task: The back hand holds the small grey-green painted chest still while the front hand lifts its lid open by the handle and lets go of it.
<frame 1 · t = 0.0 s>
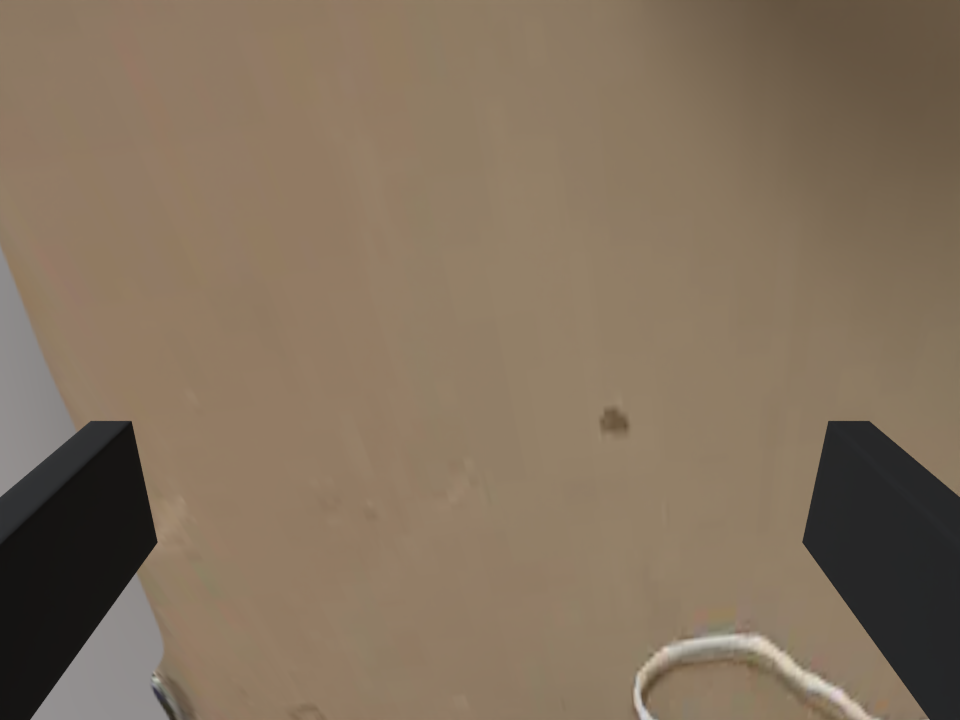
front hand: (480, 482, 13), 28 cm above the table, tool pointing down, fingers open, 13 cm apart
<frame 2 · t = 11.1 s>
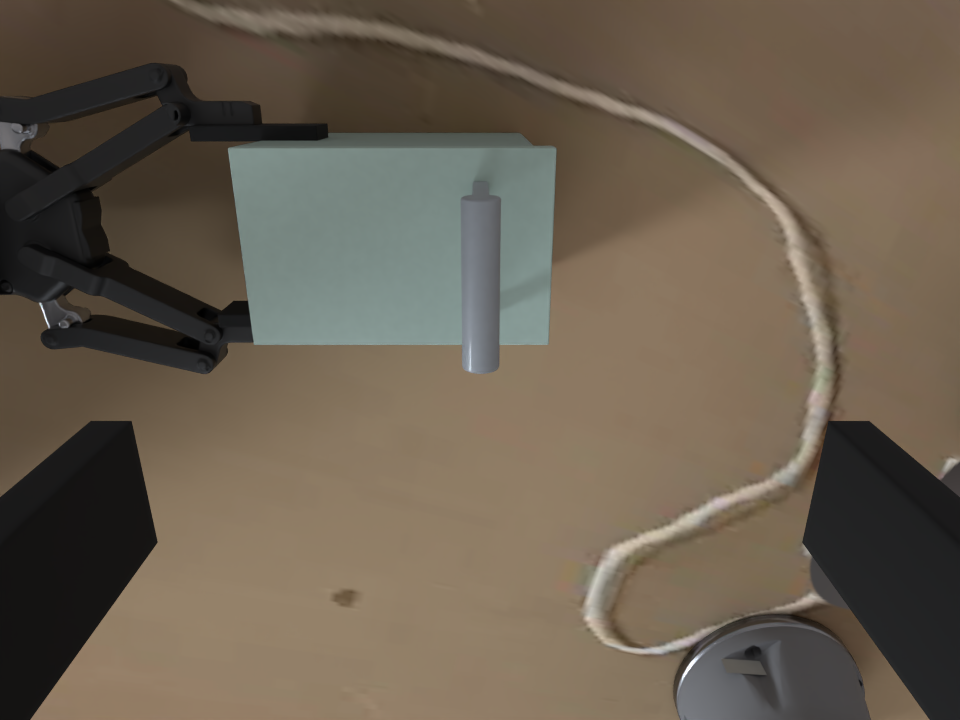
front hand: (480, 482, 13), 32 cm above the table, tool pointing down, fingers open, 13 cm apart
back hand: (330, 227, 37), fingers closed on chest, 9 cm apart
chest: (411, 209, 43), on the table, touching back hand
lid: (389, 266, 29), point 15 cm above the table, hinge at 0.0°
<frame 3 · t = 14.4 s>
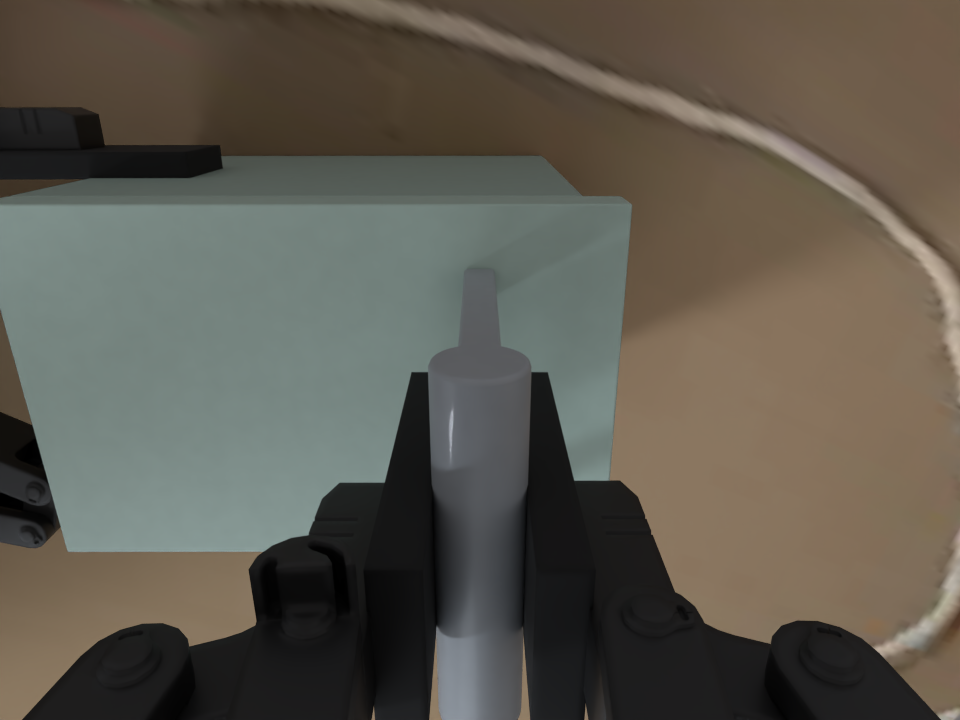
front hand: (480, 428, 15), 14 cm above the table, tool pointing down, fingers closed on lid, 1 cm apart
chest: (373, 272, 28), on the table, touching back hand
lid: (290, 452, 14), point 15 cm above the table, hinge at 0.1°, touching front hand
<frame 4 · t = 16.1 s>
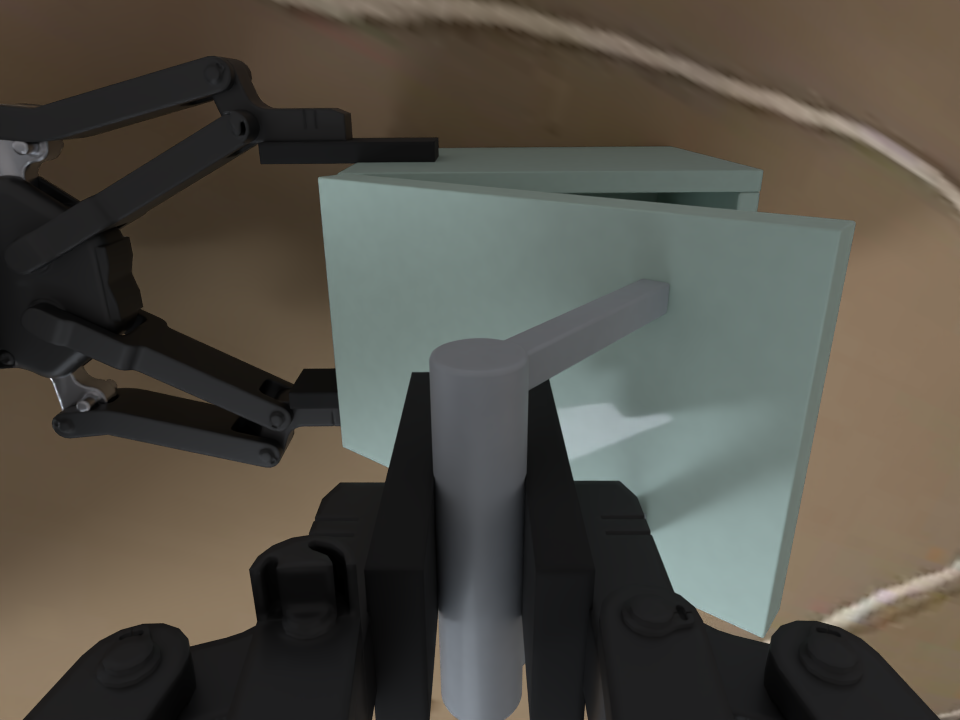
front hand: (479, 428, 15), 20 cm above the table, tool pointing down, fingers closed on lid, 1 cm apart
back hand: (440, 276, 28), fingers closed on chest, 9 cm apart
chest: (525, 245, 34), on the table, touching back hand
lid: (438, 411, 16), point 19 cm above the table, hinge at 39.0°, touching front hand
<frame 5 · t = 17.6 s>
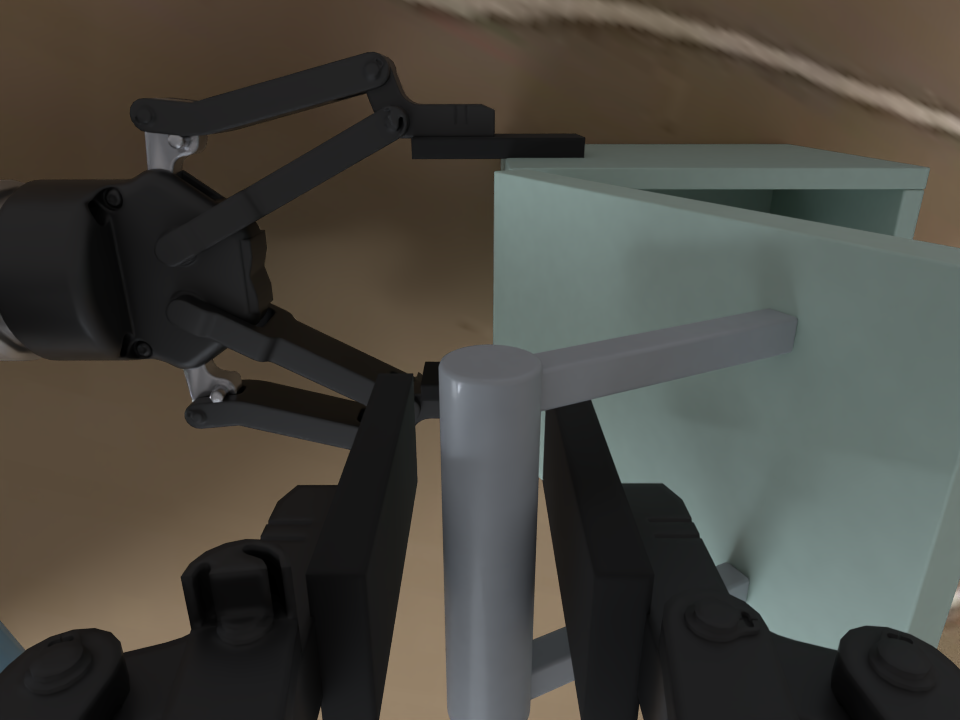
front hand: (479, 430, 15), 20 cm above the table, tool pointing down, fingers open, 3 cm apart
back hand: (573, 270, 28), fingers closed on chest, 9 cm apart
chest: (636, 241, 34), on the table, touching back hand
lid: (535, 416, 16), point 20 cm above the table, hinge at 62.8°
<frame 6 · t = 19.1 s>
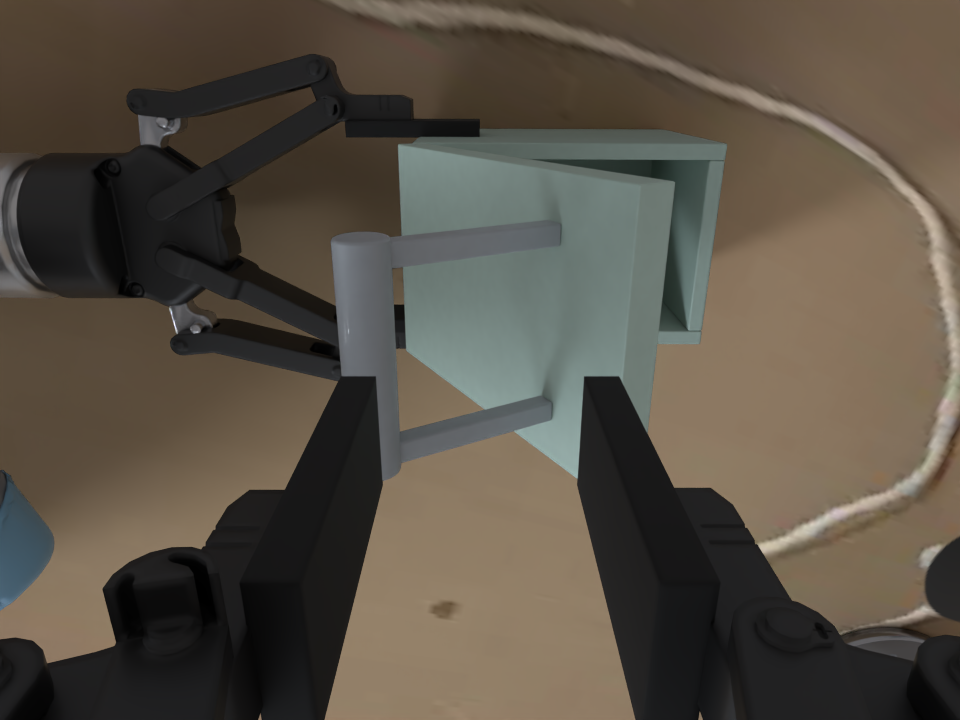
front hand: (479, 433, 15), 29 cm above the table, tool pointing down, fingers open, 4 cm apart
back hand: (479, 228, 36), fingers closed on chest, 9 cm apart
chest: (543, 209, 41), on the table, touching back hand
lid: (415, 305, 23), point 20 cm above the table, hinge at 59.5°
when the back hand's fingers open (6 cm above the table, at t = 21.6 s): chest stays where it is, on the table.
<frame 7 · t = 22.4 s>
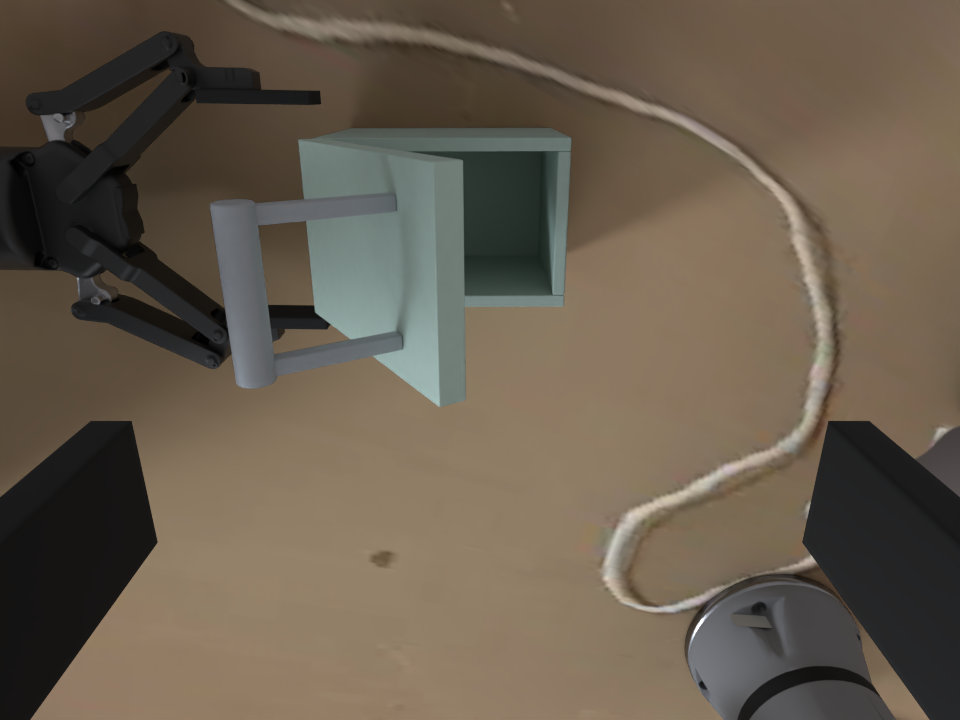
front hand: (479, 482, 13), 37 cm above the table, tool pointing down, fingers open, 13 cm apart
back hand: (324, 214, 42), fingers open, 13 cm apart
chest: (451, 197, 48), on the table
lid: (299, 263, 29), point 20 cm above the table, hinge at 58.0°
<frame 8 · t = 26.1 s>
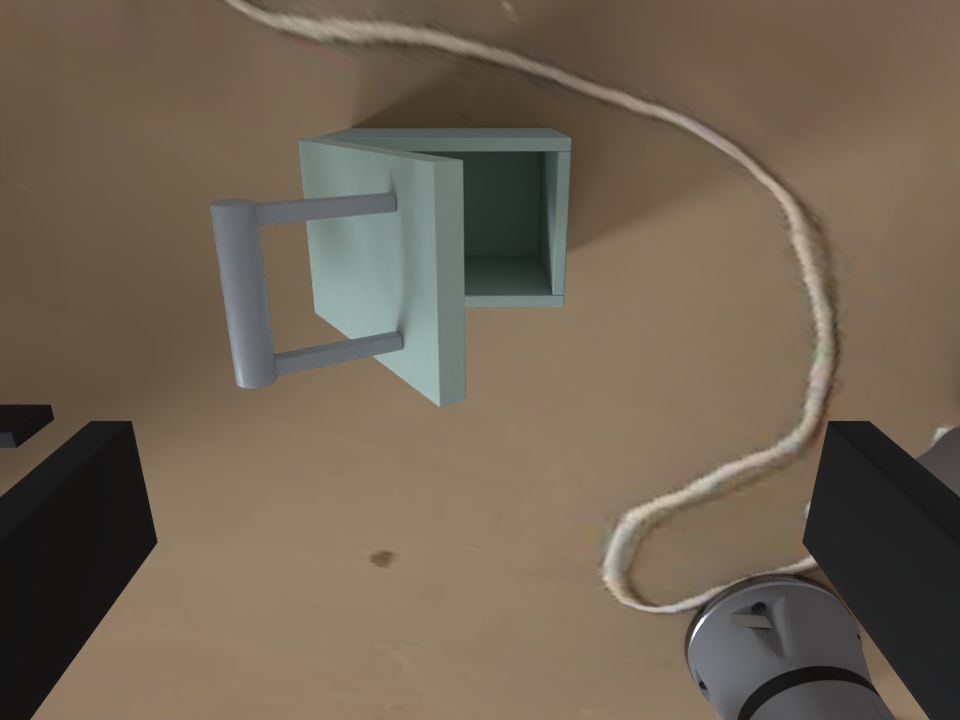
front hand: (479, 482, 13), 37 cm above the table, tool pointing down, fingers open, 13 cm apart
chest: (451, 197, 48), on the table
lid: (299, 263, 29), point 20 cm above the table, hinge at 58.0°
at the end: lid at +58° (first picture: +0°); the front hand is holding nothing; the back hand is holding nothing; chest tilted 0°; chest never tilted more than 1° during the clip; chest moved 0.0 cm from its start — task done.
